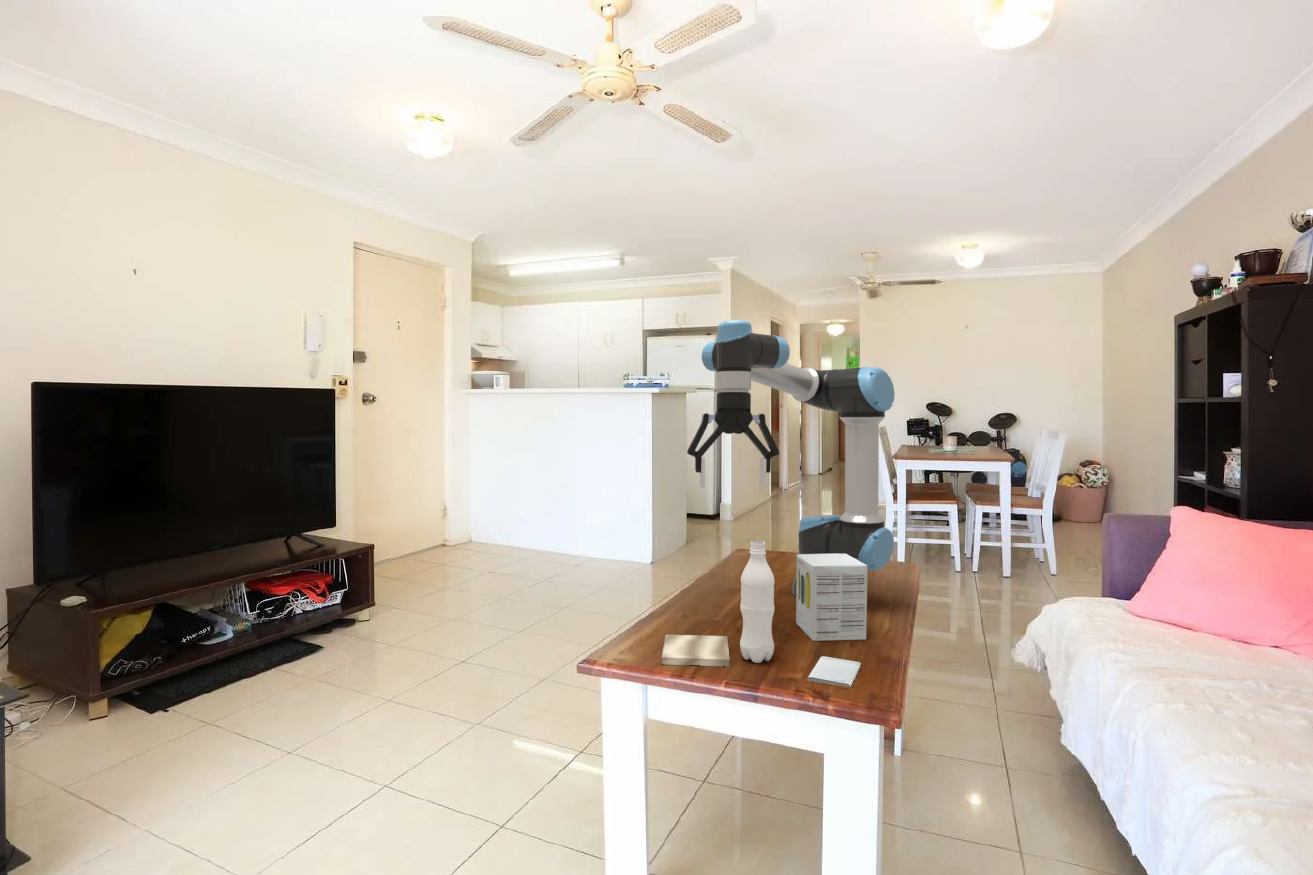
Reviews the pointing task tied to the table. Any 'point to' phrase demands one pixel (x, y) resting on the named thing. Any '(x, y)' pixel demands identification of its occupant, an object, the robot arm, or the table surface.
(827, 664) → the white spiral notebook
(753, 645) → the water bottle
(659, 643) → the table surface
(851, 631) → the supplement box
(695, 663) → the flat beige metallic box
